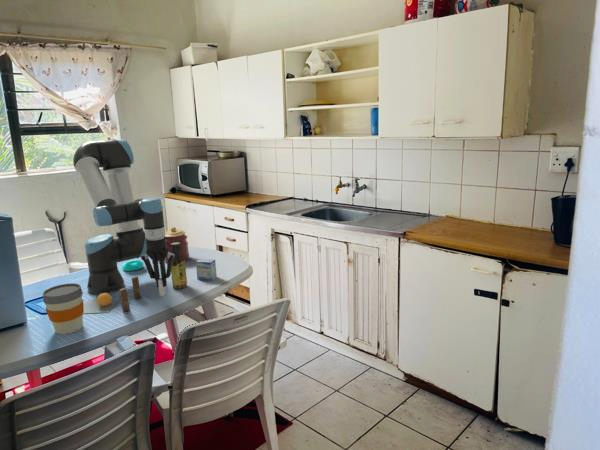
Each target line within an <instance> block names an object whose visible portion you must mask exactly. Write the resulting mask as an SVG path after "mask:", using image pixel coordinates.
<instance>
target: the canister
mask: <svg viewBox="0 0 600 450" xmlns="http://www.w3.org/2000/svg"><path fill="white" fill-rule="evenodd" d="M165 235H166V236H165V238H166V243H167V249H168V250H169V252H170V253H172V248H171V243H175V242H179V243H180V244H181V246H180V248H181V253H182V255H183V258H184V260H185V262H187V261H188V260H189V259H190V253H189V245H188V244H189V242H188V241H187V239H188V235H186V232H185V231H183V230H181V229H176V227H175V226H173V227H171V228H170V230H165ZM168 259H169V258H168V255H167V256H166V257H165V264H166V263H167V264H168Z"/></svg>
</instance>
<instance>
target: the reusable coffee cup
mask: <svg viewBox="0 0 600 450" xmlns="http://www.w3.org/2000/svg"><path fill="white" fill-rule="evenodd" d="M42 301H43V303H44V304H45V306H46V307H45V311H46V314H47V316H48V319H49V322H51V323H52V325H53V329H54V332H55V334H57V333H59V334H58V335H67V334H66V333H69V334H72V333H71V332H73V333H75V332H77V331H76V330H78V329H79V330H81V329H82V328H83V327H82V326H84V321H83V318H84V314H83V313H84V306H83V304H84V299H83V290H82V286H81V284H79V283H62V284H59V285H55V286H52V287H48V288H47V289H46V290H44V291H43V292H42ZM81 327H82V328H81ZM80 328H81V329H80ZM79 330H78V331H79ZM74 331H75V332H74Z"/></svg>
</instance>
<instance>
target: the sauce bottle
mask: <svg viewBox="0 0 600 450" xmlns="http://www.w3.org/2000/svg"><path fill="white" fill-rule="evenodd" d="M180 246H181V244H180V243H179V242H175V243H171V248H172V253H174V254H175V256H174V258H173V261H172V268H171V275H170V277H171V284H172V287H173V289H175V290H180V289H184V288H186V287H187V286H188V284H187V283H188V280H187V279H188V278H187V269H186V268H187V267H186V261H185V260H184V258H183V255H182V253H181V248H180Z"/></svg>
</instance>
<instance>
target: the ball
mask: <svg viewBox="0 0 600 450" xmlns="http://www.w3.org/2000/svg"><path fill="white" fill-rule="evenodd" d="M112 298H113V297H112V296H111V294H109V293H102V294H98V296H97V298H96V299H97V303H98V304H99V305H100V306H102V307H106V306H108V305H110V303H111V301H112Z"/></svg>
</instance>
